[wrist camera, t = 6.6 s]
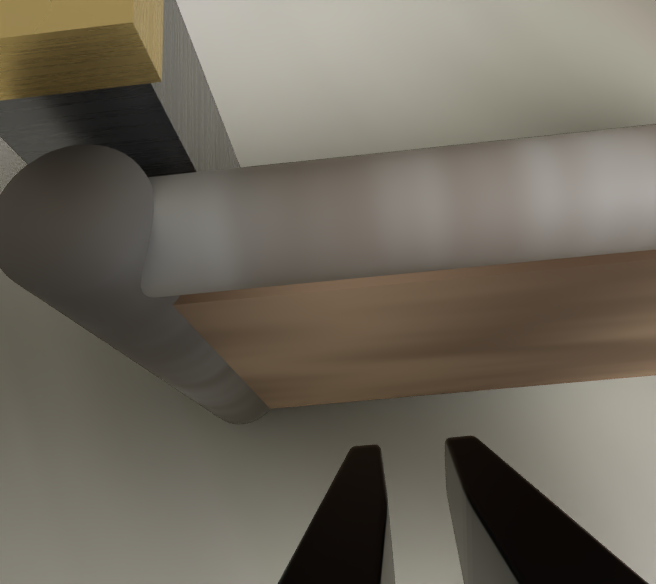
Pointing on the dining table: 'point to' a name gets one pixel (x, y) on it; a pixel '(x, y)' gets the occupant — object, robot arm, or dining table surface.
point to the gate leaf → (353, 267)
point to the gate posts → (108, 84)
